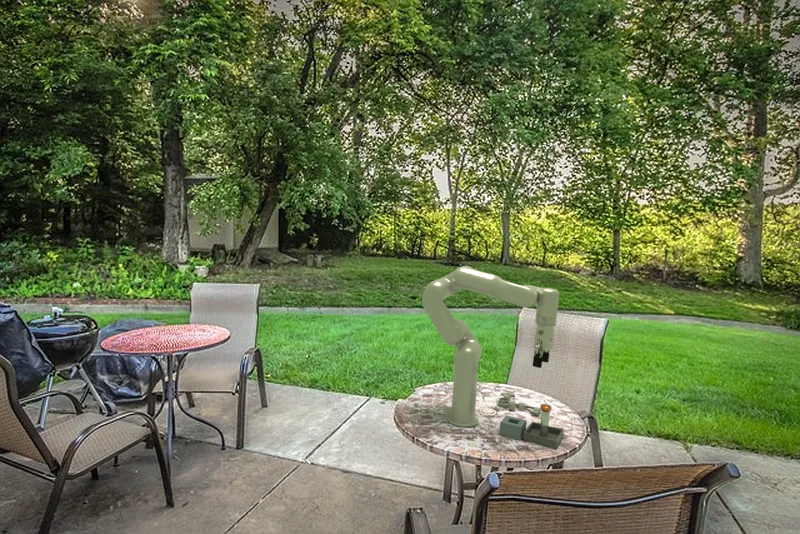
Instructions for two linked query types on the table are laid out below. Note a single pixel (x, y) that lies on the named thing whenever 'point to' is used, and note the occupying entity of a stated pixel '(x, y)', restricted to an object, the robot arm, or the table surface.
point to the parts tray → (552, 441)
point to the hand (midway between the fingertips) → (540, 364)
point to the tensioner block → (512, 427)
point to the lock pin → (544, 420)
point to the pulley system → (512, 405)
